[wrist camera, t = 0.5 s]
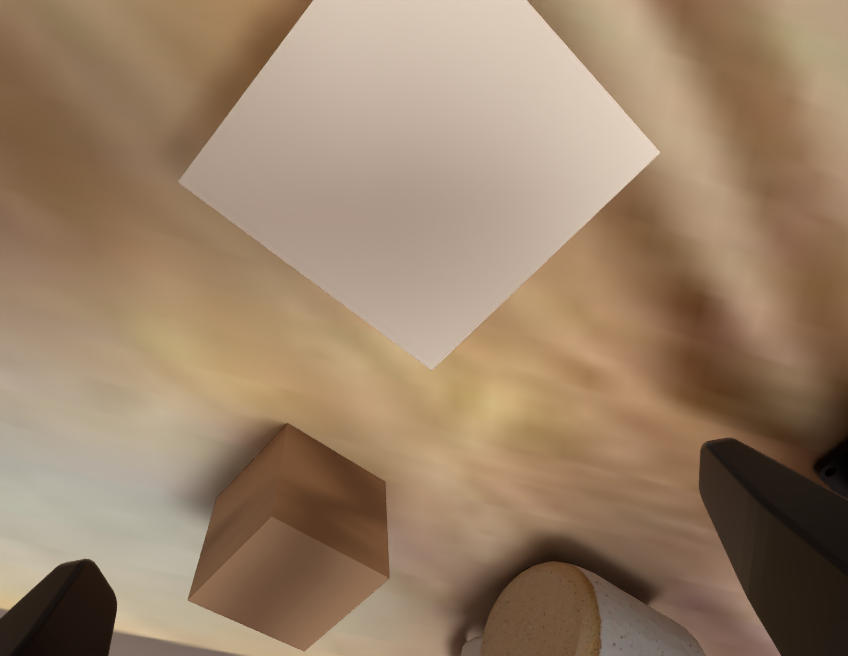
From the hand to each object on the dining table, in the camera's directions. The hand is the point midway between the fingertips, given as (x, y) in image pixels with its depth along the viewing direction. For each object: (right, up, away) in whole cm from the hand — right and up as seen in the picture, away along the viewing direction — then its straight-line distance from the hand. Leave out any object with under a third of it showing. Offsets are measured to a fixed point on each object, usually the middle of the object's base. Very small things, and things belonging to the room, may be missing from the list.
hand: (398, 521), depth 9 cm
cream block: (0, +9, +11) cm, 14 cm away
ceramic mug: (+7, -12, +23) cm, 27 cm away
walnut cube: (-5, -4, +17) cm, 18 cm away
